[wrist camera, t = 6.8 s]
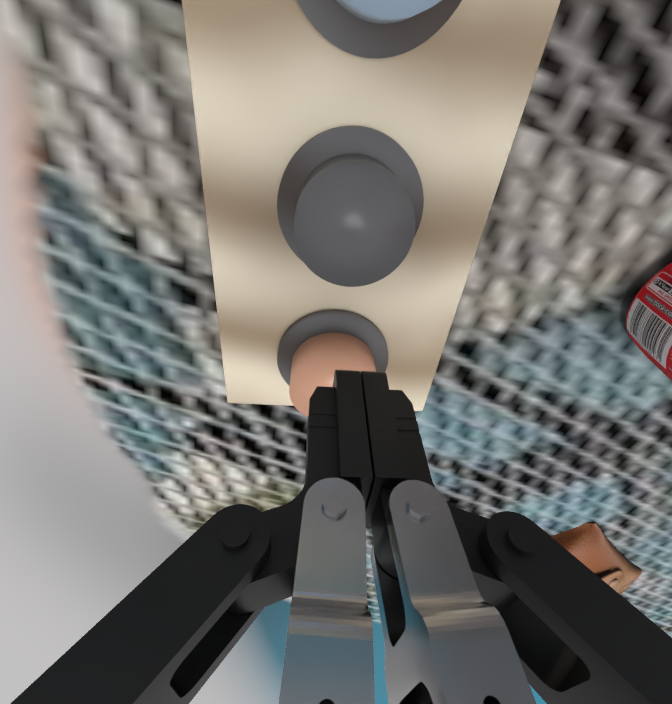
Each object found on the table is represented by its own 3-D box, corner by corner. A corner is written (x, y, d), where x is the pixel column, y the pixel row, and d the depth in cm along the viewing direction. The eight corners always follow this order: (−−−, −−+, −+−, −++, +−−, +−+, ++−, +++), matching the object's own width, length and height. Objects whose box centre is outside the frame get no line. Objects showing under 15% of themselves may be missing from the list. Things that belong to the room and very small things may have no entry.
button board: (173, -300, 10) (128, -410, 8) (595, -219, 11) (669, -294, 9) (234, 375, 25) (225, 408, 22) (414, 384, 26) (423, 417, 23)
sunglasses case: (649, 571, 46) (652, 635, 43) (583, 557, 51) (582, 613, 48) (594, 518, 38) (593, 593, 35) (523, 508, 43) (516, 572, 40)
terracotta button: (292, 329, 19) (290, 355, 17) (380, 335, 19) (386, 360, 17) (290, 394, 21) (288, 421, 20) (367, 397, 22) (371, 424, 20)
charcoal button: (297, 147, 14) (295, 159, 12) (416, 160, 14) (428, 172, 12) (294, 261, 16) (291, 282, 15) (394, 268, 17) (401, 290, 15)
